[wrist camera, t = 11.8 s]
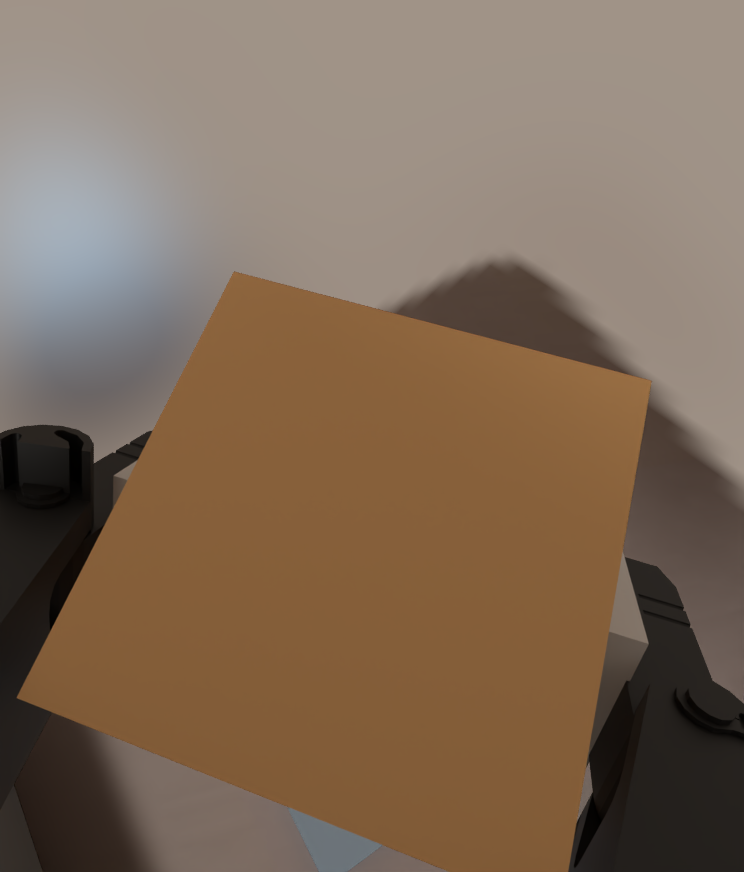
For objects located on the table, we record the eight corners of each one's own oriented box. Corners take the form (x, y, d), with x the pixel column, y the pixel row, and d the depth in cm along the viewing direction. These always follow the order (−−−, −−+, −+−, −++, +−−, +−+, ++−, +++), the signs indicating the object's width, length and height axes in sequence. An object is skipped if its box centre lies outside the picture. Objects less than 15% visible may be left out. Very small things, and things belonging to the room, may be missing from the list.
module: (476, 579, 19) (652, 381, 6) (434, 740, 18) (560, 916, 5) (334, 533, 20) (234, 270, 7) (280, 682, 18) (16, 698, 5)
